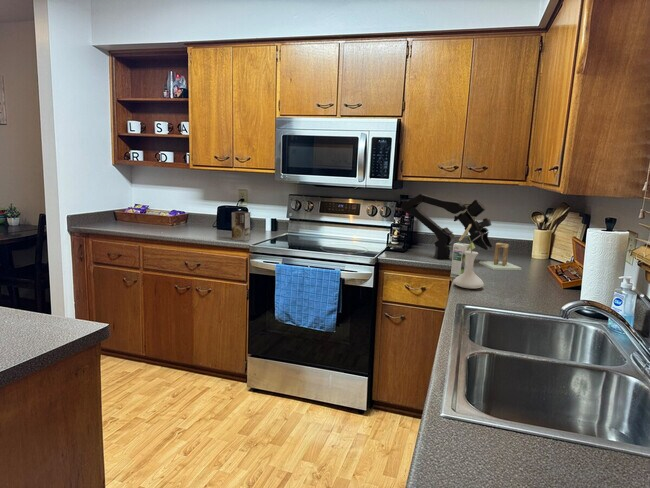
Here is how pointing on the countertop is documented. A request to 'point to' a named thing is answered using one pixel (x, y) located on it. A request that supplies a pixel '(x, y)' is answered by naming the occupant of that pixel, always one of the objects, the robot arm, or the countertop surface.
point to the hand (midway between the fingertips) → (489, 248)
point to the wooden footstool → (497, 251)
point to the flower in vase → (469, 268)
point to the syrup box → (459, 259)
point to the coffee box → (241, 226)
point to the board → (499, 266)
